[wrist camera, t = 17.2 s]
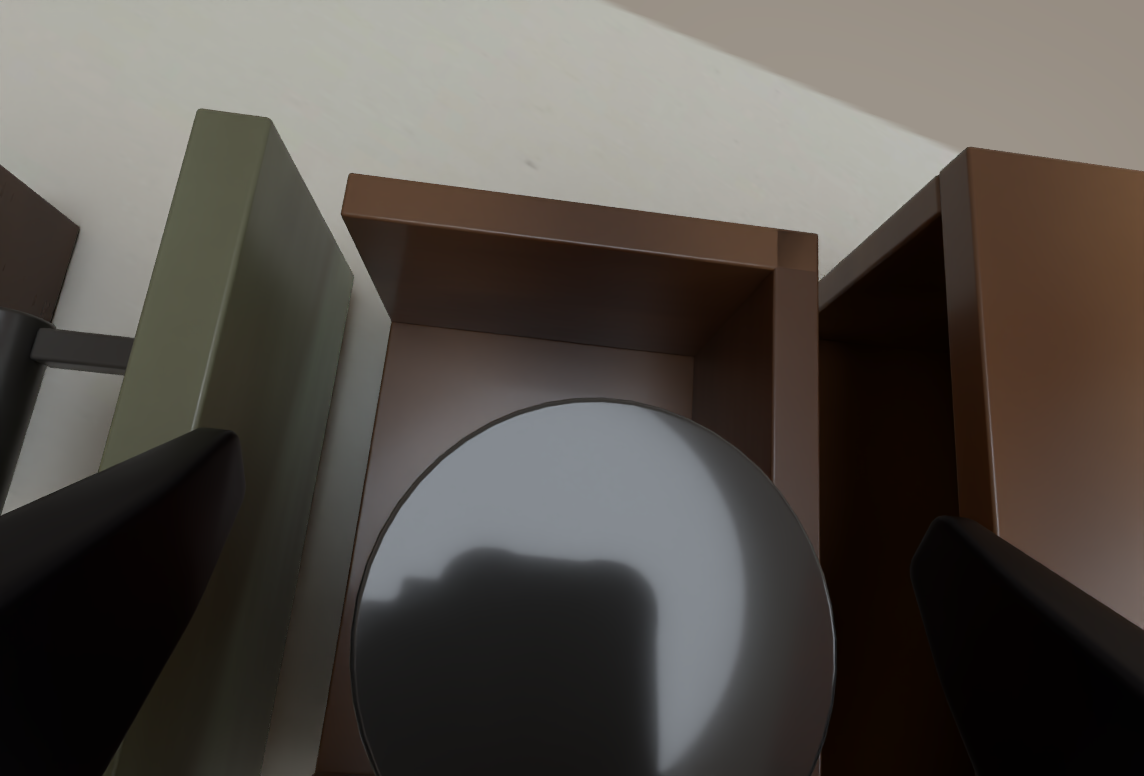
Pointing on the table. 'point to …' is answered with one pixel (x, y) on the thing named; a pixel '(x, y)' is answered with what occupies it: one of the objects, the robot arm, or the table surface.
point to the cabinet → (976, 421)
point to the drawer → (404, 380)
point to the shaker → (593, 607)
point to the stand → (31, 248)
